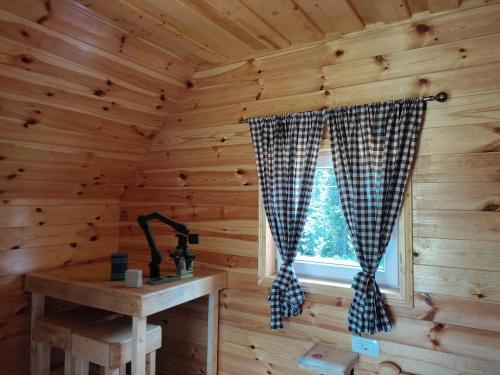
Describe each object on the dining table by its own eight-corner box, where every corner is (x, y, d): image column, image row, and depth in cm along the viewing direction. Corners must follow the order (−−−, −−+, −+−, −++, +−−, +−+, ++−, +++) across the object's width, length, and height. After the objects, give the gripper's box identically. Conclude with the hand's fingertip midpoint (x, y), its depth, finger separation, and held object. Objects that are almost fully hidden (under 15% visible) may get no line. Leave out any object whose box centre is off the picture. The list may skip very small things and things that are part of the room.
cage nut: (176, 276, 225) (176, 263, 225) (182, 274, 228) (182, 262, 229) (181, 277, 221) (181, 264, 222) (187, 276, 225) (187, 263, 225)
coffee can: (191, 269, 248) (191, 248, 249) (193, 272, 238) (193, 250, 239) (176, 270, 245) (176, 249, 246) (177, 273, 235) (177, 251, 236)
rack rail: (145, 282, 208) (145, 279, 208) (171, 277, 222) (171, 274, 222) (155, 285, 202) (155, 281, 202) (181, 279, 216) (181, 276, 216)
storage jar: (107, 281, 211) (108, 255, 211) (113, 278, 220) (113, 253, 221) (125, 281, 211) (125, 255, 212) (129, 277, 221) (130, 253, 222)
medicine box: (142, 286, 201) (142, 270, 201) (137, 287, 196) (137, 271, 197) (129, 285, 203) (129, 269, 203) (124, 287, 198) (125, 270, 199)
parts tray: (171, 276, 224) (171, 274, 224) (183, 274, 231) (183, 272, 231) (180, 279, 218) (180, 276, 218) (192, 276, 225) (192, 274, 225)
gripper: (162, 244, 225) (162, 269, 225) (181, 246, 213) (181, 273, 213) (176, 242, 234) (176, 267, 233) (196, 245, 222) (195, 271, 221)
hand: (182, 269), depth 225 cm, fingers open, 9 cm apart
